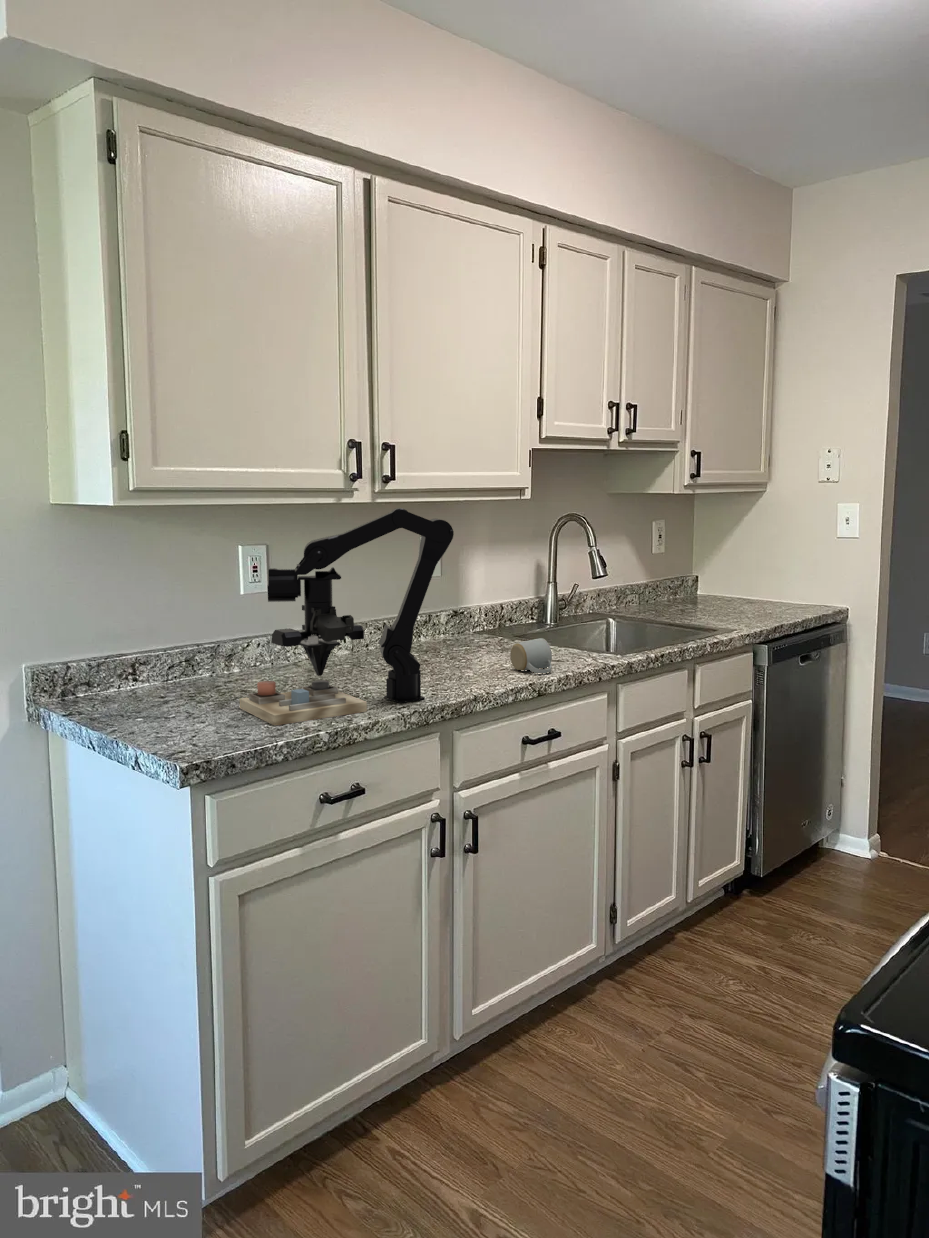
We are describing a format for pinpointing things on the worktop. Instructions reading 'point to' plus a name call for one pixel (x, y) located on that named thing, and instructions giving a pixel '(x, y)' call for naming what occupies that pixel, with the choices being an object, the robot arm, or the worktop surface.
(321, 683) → the black button
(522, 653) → the ceramic mug
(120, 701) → the worktop surface
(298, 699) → the slider knob
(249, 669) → the worktop surface
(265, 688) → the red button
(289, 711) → the control panel
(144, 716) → the worktop surface
